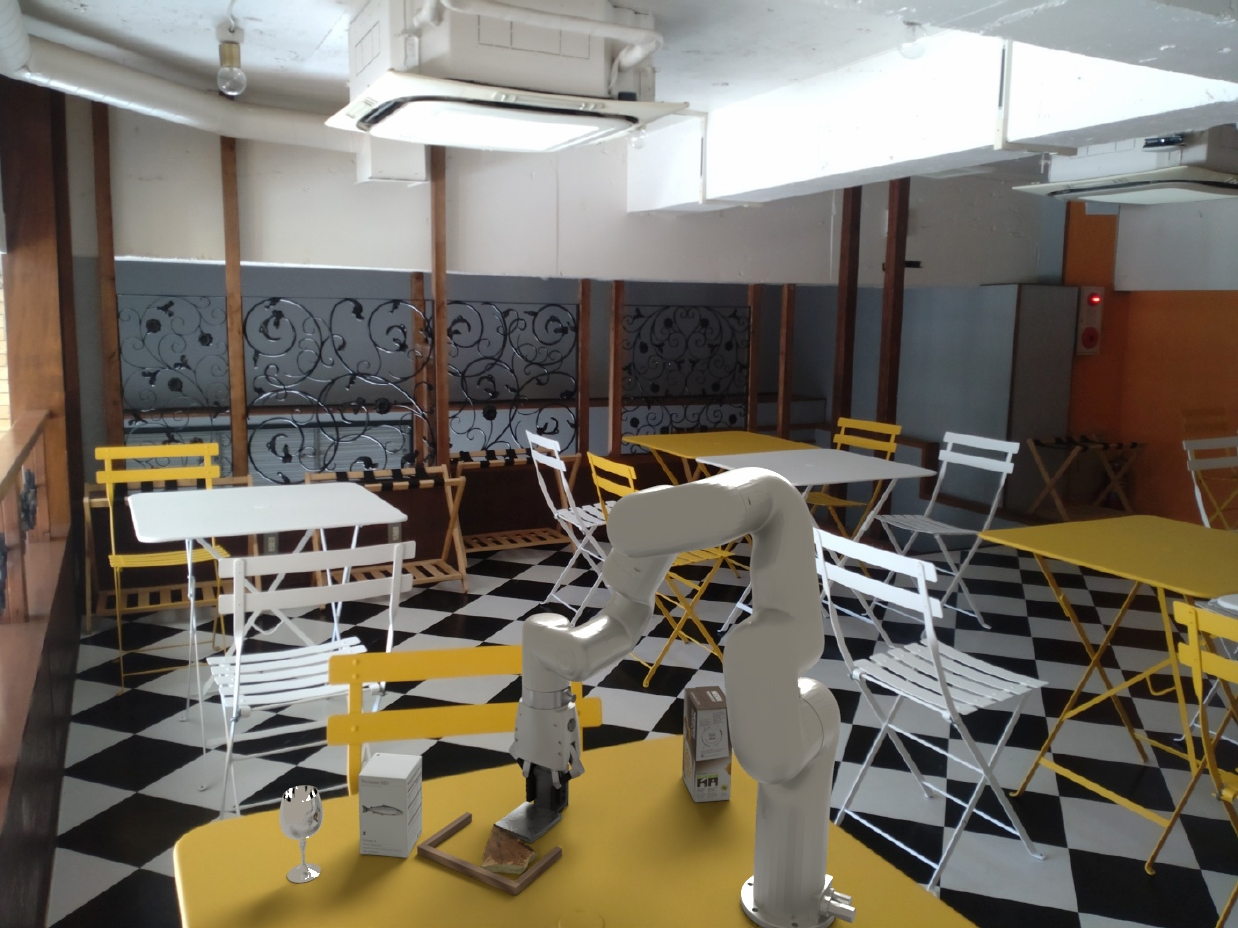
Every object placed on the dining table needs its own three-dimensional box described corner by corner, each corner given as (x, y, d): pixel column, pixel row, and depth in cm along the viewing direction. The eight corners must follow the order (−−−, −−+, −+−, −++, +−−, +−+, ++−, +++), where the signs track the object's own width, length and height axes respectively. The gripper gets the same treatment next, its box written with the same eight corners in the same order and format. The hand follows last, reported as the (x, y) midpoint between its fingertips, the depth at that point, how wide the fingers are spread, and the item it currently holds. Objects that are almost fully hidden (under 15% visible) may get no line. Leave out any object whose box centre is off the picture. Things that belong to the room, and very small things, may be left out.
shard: (493, 832, 141) (493, 821, 140) (543, 834, 140) (543, 823, 140) (479, 874, 130) (479, 863, 130) (532, 877, 130) (532, 866, 129)
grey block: (540, 794, 151) (540, 755, 150) (576, 807, 147) (576, 766, 146) (494, 829, 141) (494, 786, 139) (531, 843, 137) (531, 799, 136)
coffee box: (731, 800, 150) (735, 707, 147) (693, 803, 149) (697, 710, 146) (716, 772, 159) (719, 684, 156) (680, 775, 158) (682, 686, 155)
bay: (562, 855, 134) (562, 848, 134) (515, 895, 125) (515, 887, 125) (467, 818, 143) (466, 811, 143) (417, 853, 134) (417, 845, 134)
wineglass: (280, 888, 125) (276, 807, 123) (283, 864, 131) (280, 785, 129) (324, 882, 127) (321, 801, 125) (326, 858, 132) (323, 781, 130)
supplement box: (358, 855, 133) (355, 774, 131) (377, 827, 141) (375, 750, 138) (407, 859, 133) (405, 778, 130) (424, 831, 140) (422, 753, 138)
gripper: (604, 697, 142) (602, 807, 145) (518, 673, 150) (518, 777, 153) (577, 715, 135) (576, 830, 138) (488, 689, 144) (489, 797, 147)
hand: (545, 801), depth 146 cm, fingers closed on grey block, 4 cm apart
